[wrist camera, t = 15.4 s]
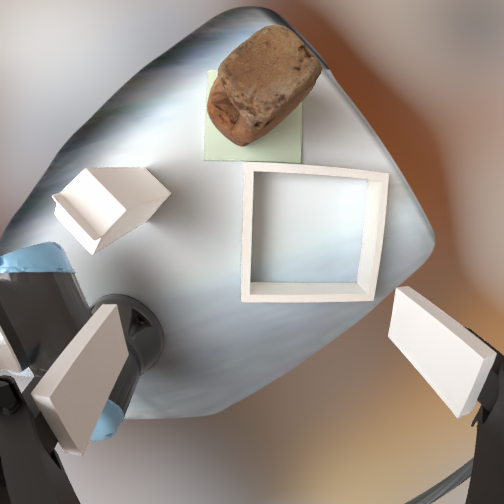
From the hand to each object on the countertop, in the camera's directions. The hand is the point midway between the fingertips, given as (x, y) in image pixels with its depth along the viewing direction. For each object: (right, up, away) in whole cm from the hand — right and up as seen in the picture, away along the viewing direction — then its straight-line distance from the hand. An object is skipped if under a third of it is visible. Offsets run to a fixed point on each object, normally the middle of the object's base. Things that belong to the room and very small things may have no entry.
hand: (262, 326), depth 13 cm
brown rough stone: (0, +23, +27) cm, 36 cm away
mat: (0, +23, +28) cm, 36 cm away
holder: (+8, +7, +32) cm, 34 cm away
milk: (-17, +12, +30) cm, 36 cm away
